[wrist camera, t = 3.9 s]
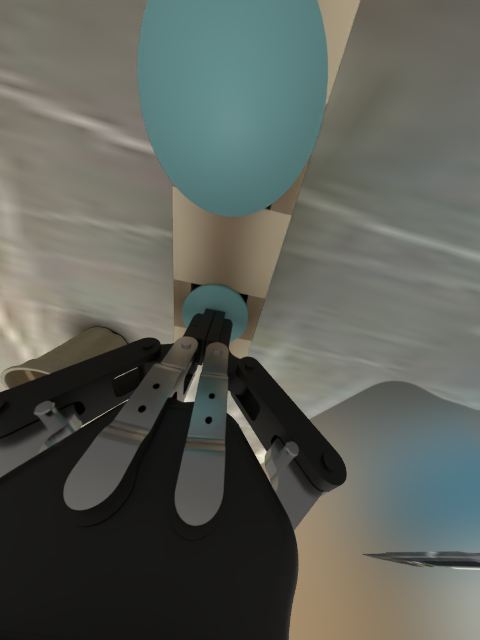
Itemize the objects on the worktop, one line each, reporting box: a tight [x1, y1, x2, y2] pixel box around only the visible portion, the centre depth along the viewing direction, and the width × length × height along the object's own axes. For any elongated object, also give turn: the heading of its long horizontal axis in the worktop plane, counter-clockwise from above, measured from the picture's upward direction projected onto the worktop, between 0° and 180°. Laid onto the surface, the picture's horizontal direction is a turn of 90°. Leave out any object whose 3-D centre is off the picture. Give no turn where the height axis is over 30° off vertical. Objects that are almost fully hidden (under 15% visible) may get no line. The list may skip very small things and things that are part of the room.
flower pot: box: [0, 327, 127, 390], centre depth 22 cm, size 9×9×9 cm
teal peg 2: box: [182, 283, 248, 342], centre depth 17 cm, size 5×5×7 cm
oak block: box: [173, 0, 360, 359], centre depth 14 cm, size 7×20×6 cm, turn 169°
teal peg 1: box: [138, 0, 328, 217], centre depth 8 cm, size 5×5×7 cm
